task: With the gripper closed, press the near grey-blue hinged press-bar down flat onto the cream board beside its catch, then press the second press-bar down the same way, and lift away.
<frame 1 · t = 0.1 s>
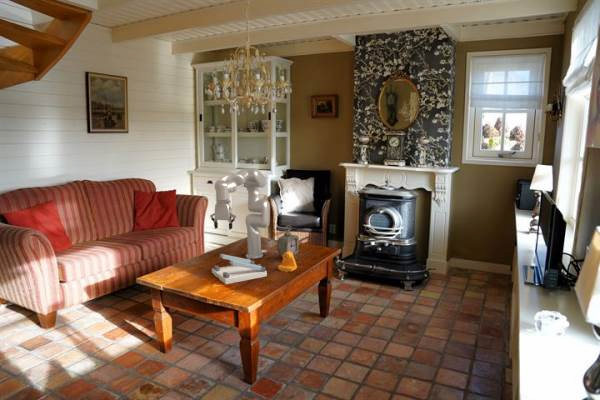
hand: (223, 228, 287), 31 cm above the table, tool pointing down, fingers open, 9 cm apart
board: (239, 274, 294), on the table
lever a: (236, 259, 300), point 8 cm above the table, hinge at 20.0°
tabletop clock: (288, 259, 326), on the table
lever b: (246, 265, 287), point 8 cm above the table, hinge at 20.0°
bracket: (287, 270, 303), on the table
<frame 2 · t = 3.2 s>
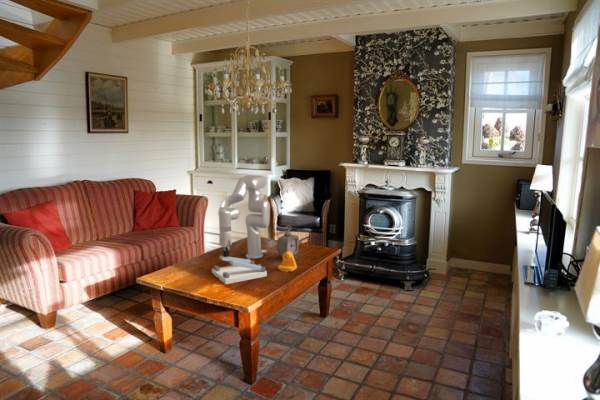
hand: (226, 256, 296), 11 cm above the table, tool pointing down, fingers closed
lever a: (236, 260, 300), point 7 cm above the table, hinge at 17.0°, touching gripper
everything else where it was.
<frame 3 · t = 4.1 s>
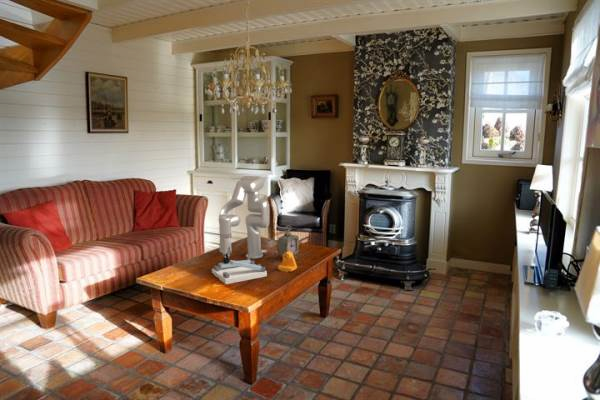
hand: (226, 263, 296), 7 cm above the table, tool pointing down, fingers closed
lever a: (235, 263, 300), point 5 cm above the table, hinge at 3.8°, touching gripper
everything else where it was.
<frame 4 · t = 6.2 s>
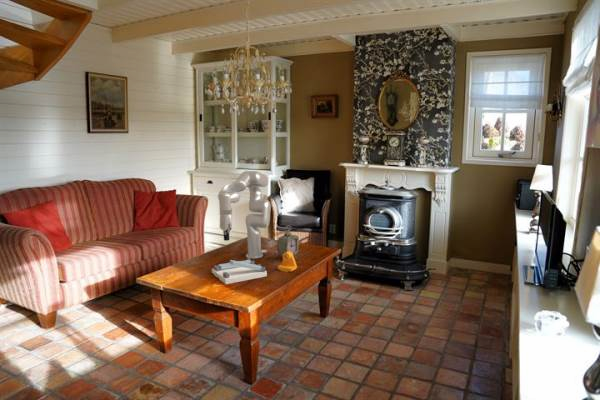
hand: (226, 240, 293), 22 cm above the table, tool pointing down, fingers closed
lever a: (235, 264, 300), point 5 cm above the table, hinge at 1.1°
everything else where it was.
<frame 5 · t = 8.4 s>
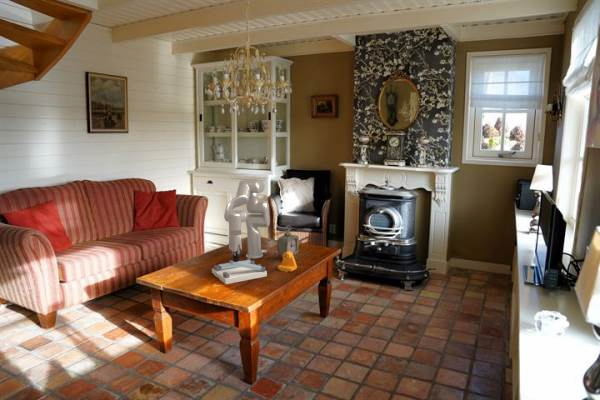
hand: (236, 261, 282), 12 cm above the table, tool pointing down, fingers closed
lever b: (246, 265, 287), point 8 cm above the table, hinge at 19.6°, touching gripper
everything else where it was.
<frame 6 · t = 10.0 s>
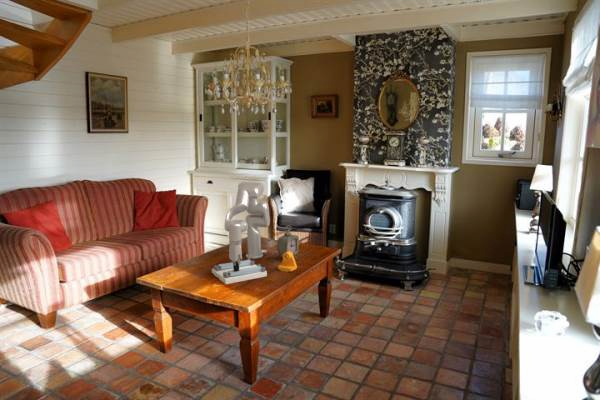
hand: (236, 271, 283), 6 cm above the table, tool pointing down, fingers closed
lever b: (245, 271, 287), point 5 cm above the table, hinge at 1.4°, touching gripper
everything else where it was.
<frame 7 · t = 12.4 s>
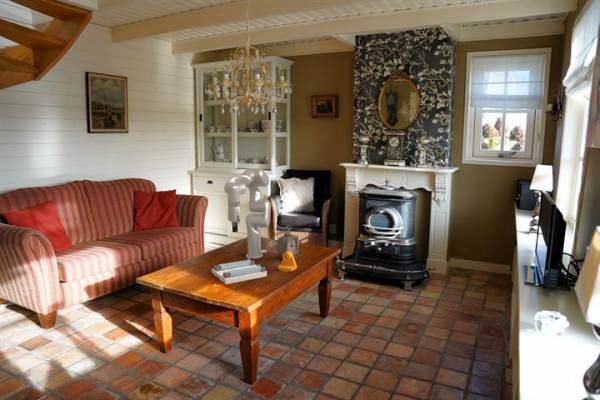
hand: (235, 231, 294), 27 cm above the table, tool pointing down, fingers closed
lever b: (245, 271, 287), point 5 cm above the table, hinge at 1.2°
everything else where it was.
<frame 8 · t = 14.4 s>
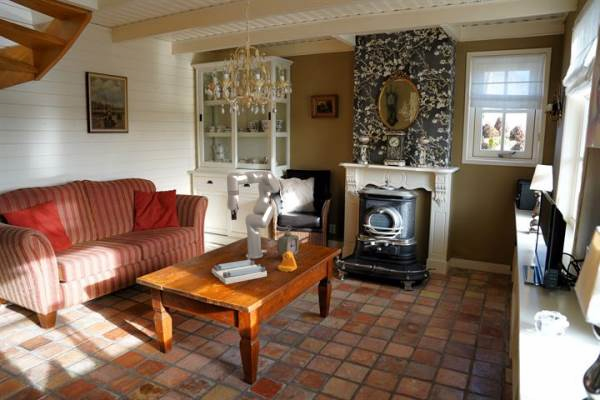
hand: (234, 219, 309), 32 cm above the table, tool pointing down, fingers closed
nothing on the table moved.
at the end: lever a at +1° (first picture: +20°); lever b at +1° (first picture: +20°) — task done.
